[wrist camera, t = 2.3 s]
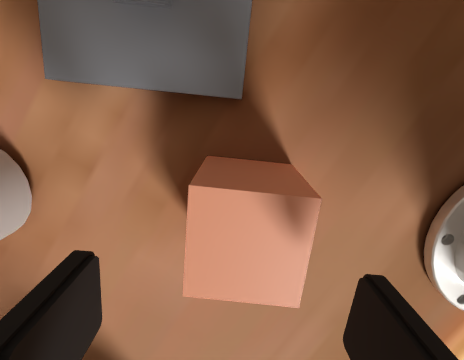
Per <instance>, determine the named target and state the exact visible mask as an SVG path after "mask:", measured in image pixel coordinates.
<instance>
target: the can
mask: <svg viewBox="0 0 464 360" xmlns="http://www.w3.org/2000/svg"><path fill="white" fill-rule="evenodd" d="M31 203H32V195H31V191H30V187H29V183H28V180H27V178H26V176H25V175H24V173H23V171H22V169H21V168H20V167H19V165H18V164H17V163H16V162H15V161H14V160H13V159H12V158H11V157H10V156H9V155H8V154H7V153H6V152H4V151H2V150H1V149H0V240H1V239H3V238H5V237H6V236H8V235H10V234H12V233H13V232H15V231H16V230H17V229H19V228H20V227H21V226H22V225H23V224H24V223H25V222H26V220H27V218H28V216H29V214H30V212H31Z"/></svg>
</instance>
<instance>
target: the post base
mask: <svg viewBox="0 0 464 360" xmlns="http://www.w3.org/2000/svg"><path fill="white" fill-rule="evenodd" d="M251 6H252V0H38V11H39V21H40V31H41V41H42V52H43V62H44V72H45V79H51V80H58V81H67V82H77V83H87V84H96V85H106V86H116V87H126V88H135V89H145V90H155V91H164V92H174V93H184V94H193V95H203V96H213V97H222V98H232V99H242V92H243V83H244V73H245V63H246V54H247V44H248V35H249V25H250V16H251Z"/></svg>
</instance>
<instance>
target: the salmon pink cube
mask: <svg viewBox="0 0 464 360" xmlns="http://www.w3.org/2000/svg"><path fill="white" fill-rule="evenodd" d="M321 201H322V198H321V197H320V196H319V195H318V194H317V193H316V192H315V190H314V189H313V188H312V187H311V186H310V185H309V183H308V182H307V181H306V180H305V179H304V178H303V177H302V175H301V174H300V173H299V172H298V171H297V170H296V169H295V167H294V166H293V165H292V164H285V163H275V162H265V161H255V160H246V159H236V158H226V157H216V156H207V157H206V158H205V160H204V162H203V163H202V165H201V166H200V168H199V170H198V171H197V173H196V174H195V176H194V178H193V179H192V181H191V182H190V184H189V190H188V208H187V226H186V245H185V263H184V281H183V296H186V297H196V298H205V299H215V300H225V301H235V302H245V303H255V304H264V305H274V306H284V307H294V308H299V306H300V301H301V296H302V291H303V287H304V282H305V277H306V272H307V267H308V263H309V258H310V253H311V248H312V244H313V239H314V234H315V229H316V224H317V220H318V215H319V210H320V205H321Z"/></svg>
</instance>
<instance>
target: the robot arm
mask: <svg viewBox="0 0 464 360" xmlns="http://www.w3.org/2000/svg"><path fill="white" fill-rule="evenodd" d="M424 264H425V268H426V271H427V274H428V277H429V279H430V280H431V282H432V284H433V286H434V287H435V288H436V289H437V290H438V291H439V292H440V293H441V294H442V295H443V296H444V297H445V298H446V299H447V300H448V301H449V302H450V303H451V304H453V305H454V306H455V307H457V308H459V309H461V310H463V311H464V185H463V186H462V187H461V188H460V189H458V190H457V191H456V192H455V193H454V194H453V195H452V196H451V197H450V198H449V199H448V200H447V201H446V203H445V204H444V205H443V206H442V207H441V209H440V210H439V212H438V213H437V215H436V216H435V218H434V220H433V221H432V224H431V226H430V229H429V231H428V234H427V236H426V241H425V247H424ZM101 322H102V306H101V287H100V268H99V258H98V257H97V256H95V255H94V253H93V252H92V251H79V250H75V251H73V252H72V253H71V254H70V255H69V256H68V257H67V258H65V259H64V260H63V261H62V262H61V263H60V264H59V265H58V266H57V267H56V268H55V269H54V270H53V271H52V272H51V273H50V274H49V275H47V276H46V277H45V278H44V279H43V280H42V281H41V282H40V283H39V284H38V285H37V286H36V287H35V288H34V289H33V290H32V291H31V292H29V293H28V294H27V295H26V296H25V297H24V298H23V299H22V300H21V301H20V302H19V303H18V304H17V305H16V306H15V307H14V308H13V309H11V310H10V311H9V312H8V313H7V314H6V315H5V316H4V317H3V318H2V319H1V320H0V360H82V358H83V356H84V354H85V353H86V351H87V349H88V348H89V346H90V344H91V342H92V341H93V339H94V337H95V335H96V334H97V332H98V330H99V328H100V326H101ZM343 343H344V347H345V349H346V351H347V353H348V355H349V358H350V360H458V359H457V358H456V356H455V355H454V354H453V353H452V352H451V351H450V350H449V349H448V347H447V346H446V345H445V344H444V343H443V342H442V341H441V340H440V338H439V337H438V336H437V335H436V334H435V333H434V332H433V330H432V329H431V328H430V327H429V326H428V325H427V324H426V323H425V321H424V320H423V319H422V318H421V317H420V316H419V315H418V314H417V312H416V311H415V310H414V309H413V308H412V307H411V306H410V305H409V303H408V302H407V301H406V300H405V299H404V298H403V297H402V296H401V294H400V293H399V292H398V291H397V290H396V289H395V288H394V287H393V285H392V284H391V283H390V282H389V281H388V280H387V279H386V278H385V277H384V276H382V275H371V274H366V275H364V277H363V278H360V279H359V281H358V285H357V288H356V292H355V296H354V299H353V303H352V306H351V310H350V313H349V317H348V321H347V324H346V328H345V331H344V335H343Z"/></svg>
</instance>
